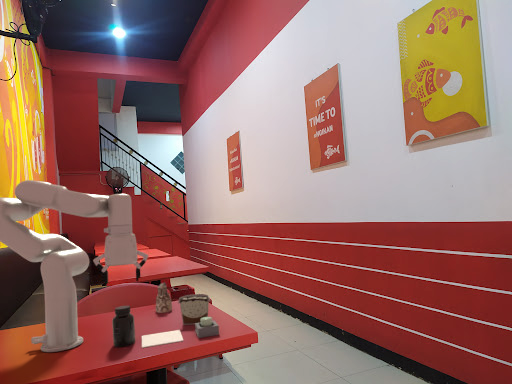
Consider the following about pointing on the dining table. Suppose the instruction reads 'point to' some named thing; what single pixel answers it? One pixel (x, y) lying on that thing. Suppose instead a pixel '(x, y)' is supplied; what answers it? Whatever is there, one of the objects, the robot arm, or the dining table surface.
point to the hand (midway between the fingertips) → (122, 282)
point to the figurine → (163, 299)
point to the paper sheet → (161, 338)
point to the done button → (206, 321)
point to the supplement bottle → (123, 327)
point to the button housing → (207, 330)
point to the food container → (194, 308)
